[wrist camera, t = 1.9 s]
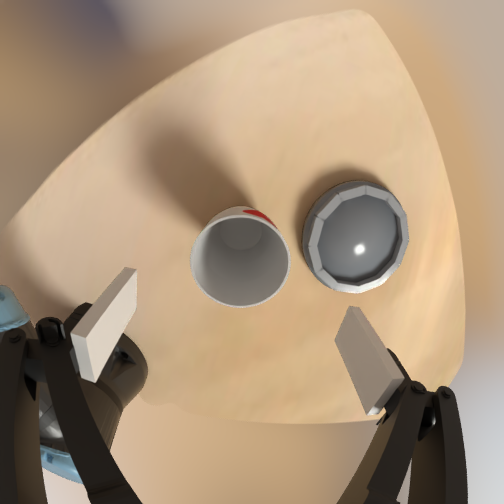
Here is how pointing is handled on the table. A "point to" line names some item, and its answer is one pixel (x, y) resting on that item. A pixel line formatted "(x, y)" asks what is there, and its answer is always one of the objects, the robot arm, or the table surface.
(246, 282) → the cup
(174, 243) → the table surface
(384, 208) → the tray
